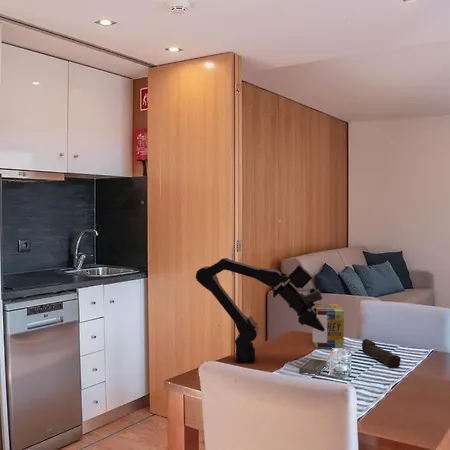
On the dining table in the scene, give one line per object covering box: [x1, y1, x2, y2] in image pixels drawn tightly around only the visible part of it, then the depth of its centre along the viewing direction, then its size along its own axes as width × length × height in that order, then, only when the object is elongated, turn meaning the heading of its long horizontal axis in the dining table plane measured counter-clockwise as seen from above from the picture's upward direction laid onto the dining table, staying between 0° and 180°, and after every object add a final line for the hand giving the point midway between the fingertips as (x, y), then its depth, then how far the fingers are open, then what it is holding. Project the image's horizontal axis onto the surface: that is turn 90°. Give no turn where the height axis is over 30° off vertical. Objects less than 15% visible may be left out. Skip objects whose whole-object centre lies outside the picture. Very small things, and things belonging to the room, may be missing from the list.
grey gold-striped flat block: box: [298, 357, 328, 376], centre depth 180 cm, size 12×6×2 cm, turn 153°
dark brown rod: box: [361, 338, 401, 369], centre depth 193 cm, size 23×5×6 cm, turn 11°
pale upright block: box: [312, 315, 327, 343], centre depth 187 cm, size 4×5×9 cm
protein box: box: [311, 303, 345, 349], centre depth 213 cm, size 10×15×16 cm
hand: (323, 329), depth 186 cm, fingers closed on pale upright block, 4 cm apart
